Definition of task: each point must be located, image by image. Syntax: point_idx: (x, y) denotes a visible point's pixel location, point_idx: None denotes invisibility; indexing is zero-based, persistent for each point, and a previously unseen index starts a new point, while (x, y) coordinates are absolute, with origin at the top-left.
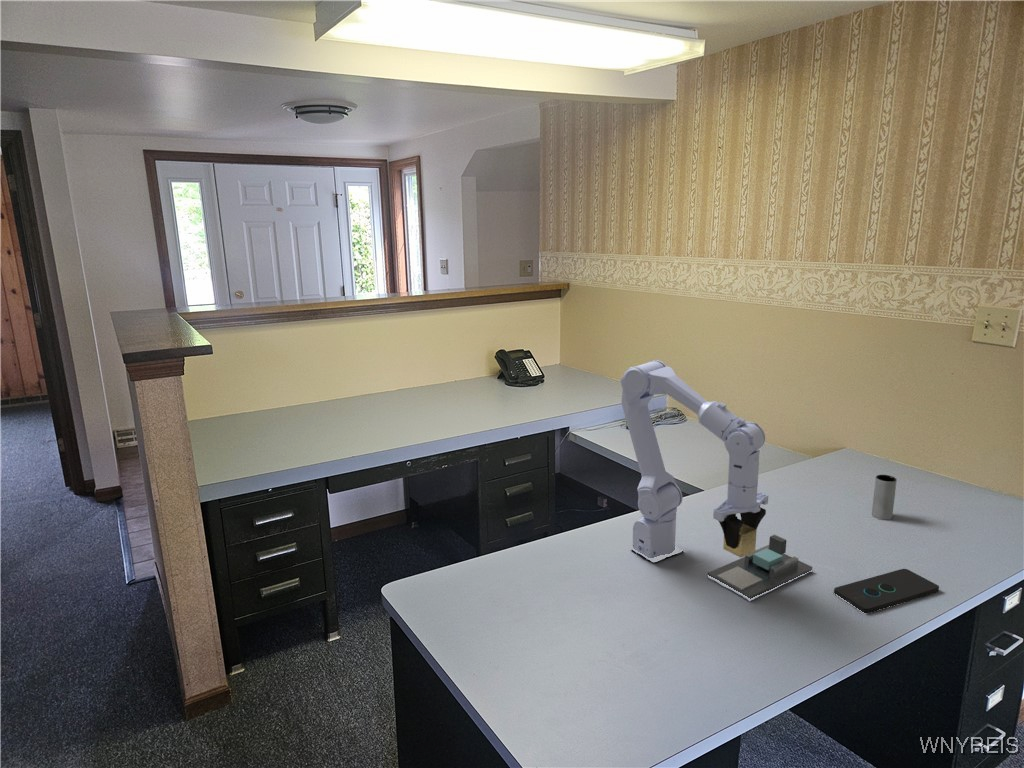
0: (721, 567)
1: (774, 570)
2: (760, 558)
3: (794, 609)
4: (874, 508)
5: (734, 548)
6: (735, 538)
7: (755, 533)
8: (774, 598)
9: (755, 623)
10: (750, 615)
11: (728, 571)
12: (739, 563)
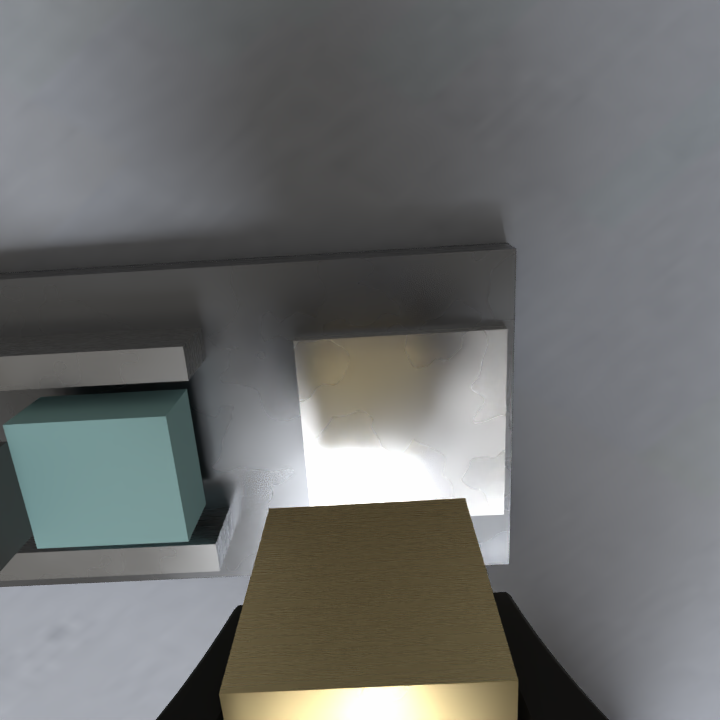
0: None
1: (182, 343)
2: (180, 482)
3: (331, 19)
4: None
5: (504, 593)
6: (570, 677)
7: (247, 650)
8: (341, 190)
9: (687, 44)
10: (632, 131)
11: None
12: None
